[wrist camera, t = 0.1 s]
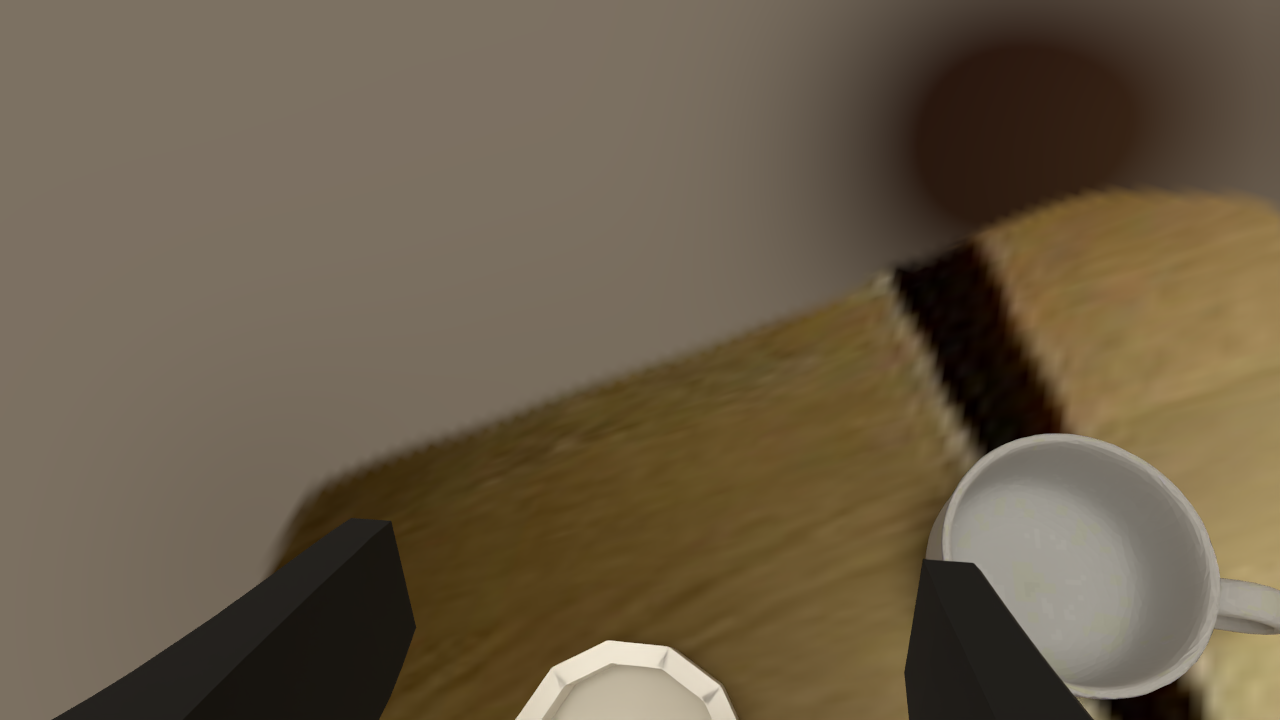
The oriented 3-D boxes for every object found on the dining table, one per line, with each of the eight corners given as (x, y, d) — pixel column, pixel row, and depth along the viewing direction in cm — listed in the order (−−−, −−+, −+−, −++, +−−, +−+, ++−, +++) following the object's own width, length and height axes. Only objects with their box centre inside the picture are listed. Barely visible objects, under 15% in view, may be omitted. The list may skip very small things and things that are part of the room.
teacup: (878, 631, 40) (908, 622, 32) (949, 440, 43) (991, 392, 35) (1174, 770, 36) (1284, 796, 29) (1229, 551, 39) (1341, 523, 32)
